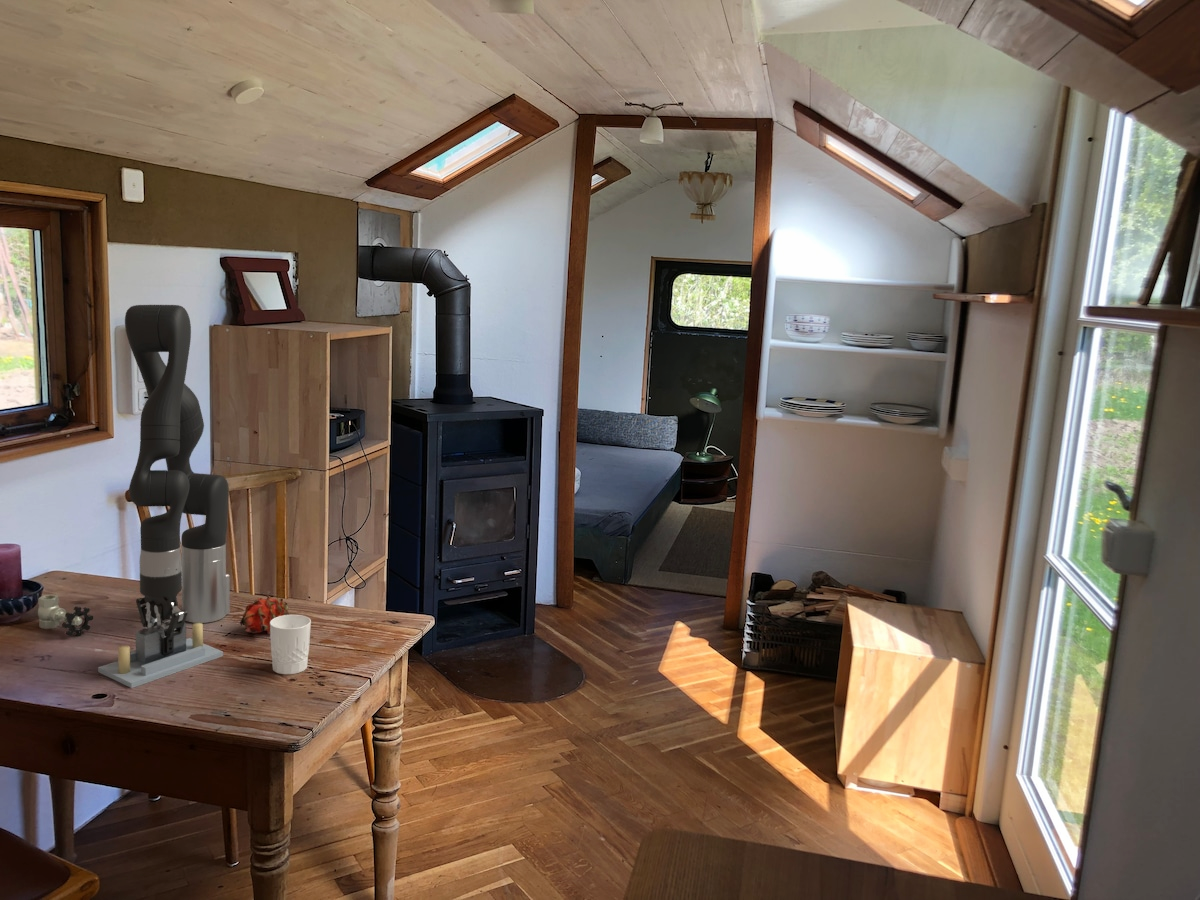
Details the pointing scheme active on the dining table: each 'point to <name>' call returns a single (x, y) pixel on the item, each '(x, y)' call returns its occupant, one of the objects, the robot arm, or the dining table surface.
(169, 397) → the robot arm
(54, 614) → the valve
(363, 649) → the dining table surface
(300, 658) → the white cup
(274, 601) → the dragon fruit
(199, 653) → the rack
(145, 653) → the gray rectangular block
